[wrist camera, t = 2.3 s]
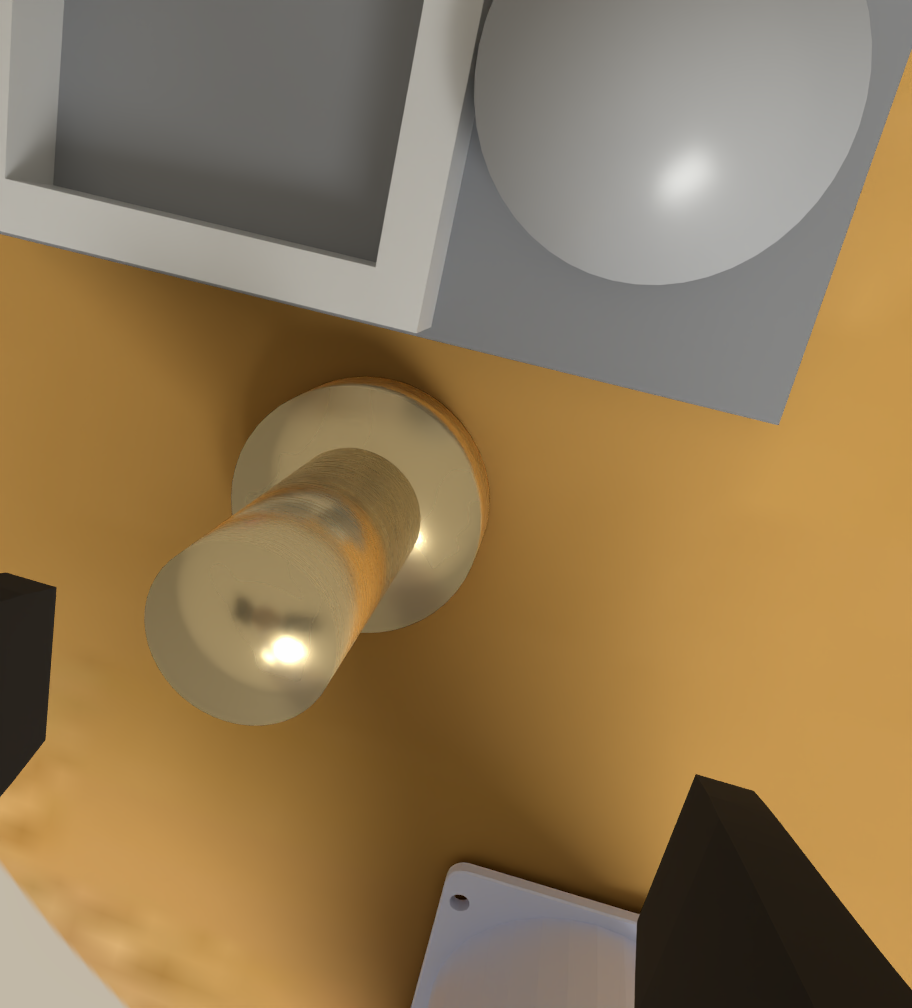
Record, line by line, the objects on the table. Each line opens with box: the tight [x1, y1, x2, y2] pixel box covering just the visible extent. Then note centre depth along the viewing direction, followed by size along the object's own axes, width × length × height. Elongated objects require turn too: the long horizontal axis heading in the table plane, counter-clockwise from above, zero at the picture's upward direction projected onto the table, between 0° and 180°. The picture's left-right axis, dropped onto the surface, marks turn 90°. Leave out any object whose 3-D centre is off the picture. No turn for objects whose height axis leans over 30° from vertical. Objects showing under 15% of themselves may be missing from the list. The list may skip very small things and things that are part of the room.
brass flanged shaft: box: [144, 376, 490, 725], centre depth 16 cm, size 6×6×8 cm
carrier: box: [0, 0, 912, 425], centre depth 15 cm, size 10×17×4 cm, turn 78°
